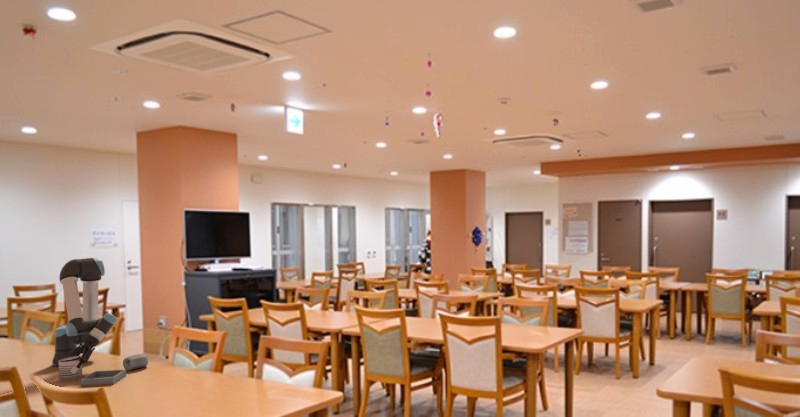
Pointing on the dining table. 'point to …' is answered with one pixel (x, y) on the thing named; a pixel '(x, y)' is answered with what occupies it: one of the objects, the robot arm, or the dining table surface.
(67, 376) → the can
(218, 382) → the dining table surface
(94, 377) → the tray
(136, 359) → the spool
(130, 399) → the dining table surface
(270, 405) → the dining table surface
